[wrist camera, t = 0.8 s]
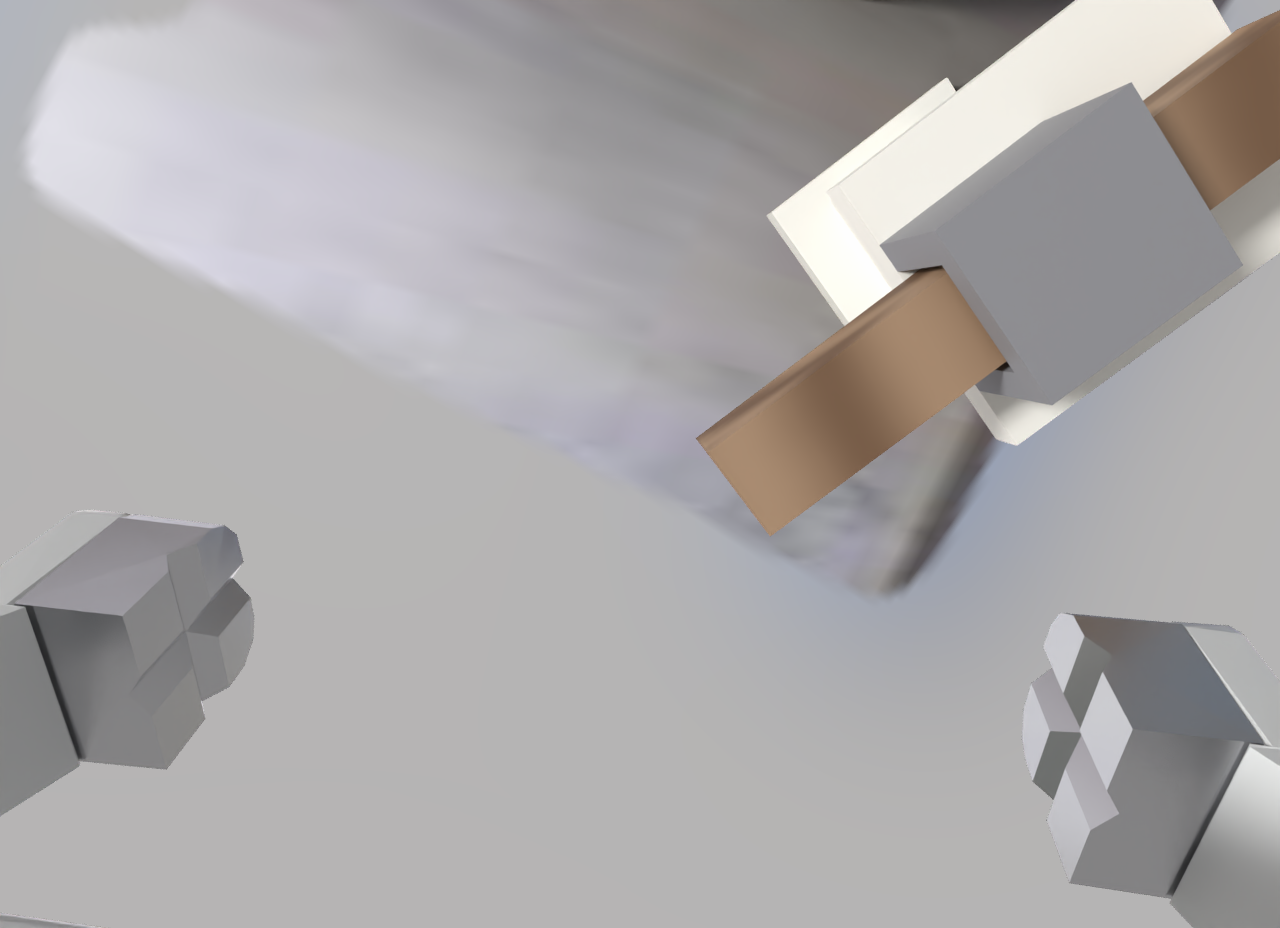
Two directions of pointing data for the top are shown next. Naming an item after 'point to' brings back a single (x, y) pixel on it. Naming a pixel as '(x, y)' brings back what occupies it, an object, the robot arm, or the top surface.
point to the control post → (1043, 206)
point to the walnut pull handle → (967, 309)
